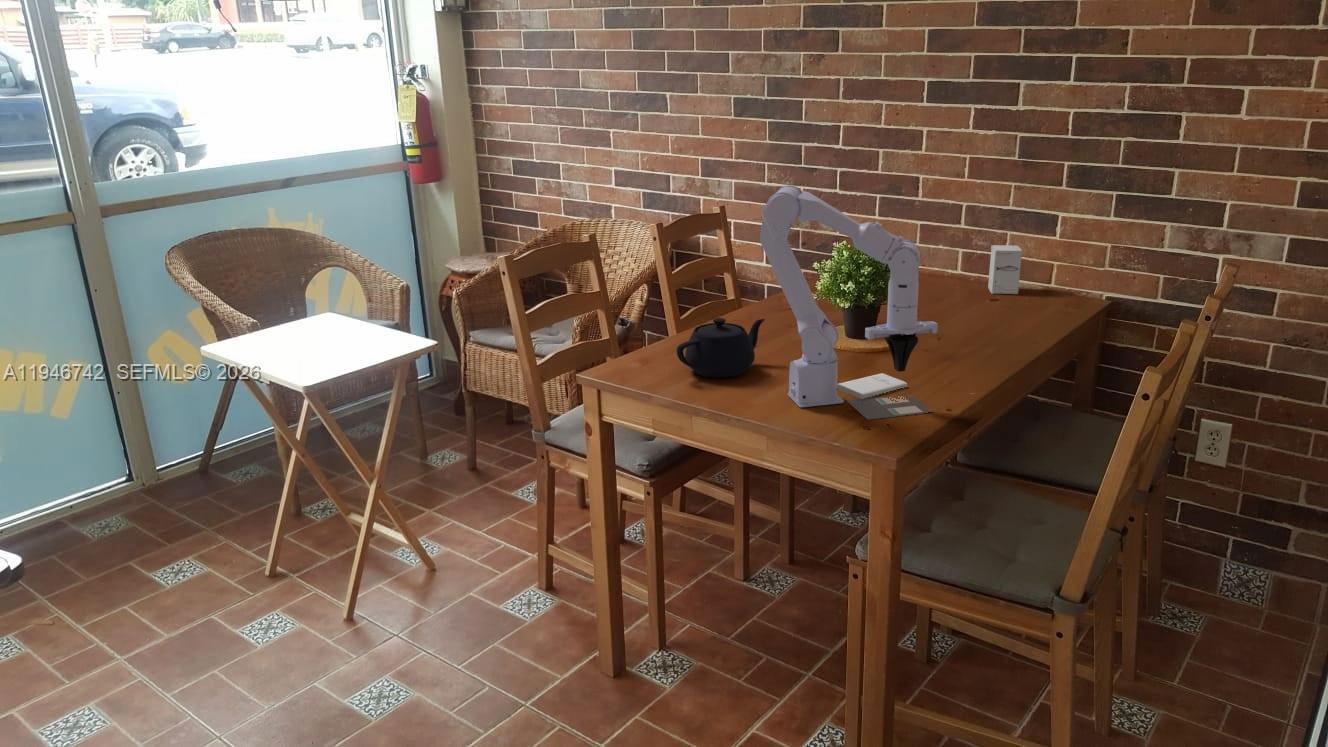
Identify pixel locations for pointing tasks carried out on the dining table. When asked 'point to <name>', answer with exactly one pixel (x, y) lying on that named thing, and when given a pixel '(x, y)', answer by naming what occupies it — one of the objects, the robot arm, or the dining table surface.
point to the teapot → (720, 349)
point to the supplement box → (1004, 269)
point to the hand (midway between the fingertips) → (899, 369)
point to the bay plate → (888, 407)
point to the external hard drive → (871, 385)
